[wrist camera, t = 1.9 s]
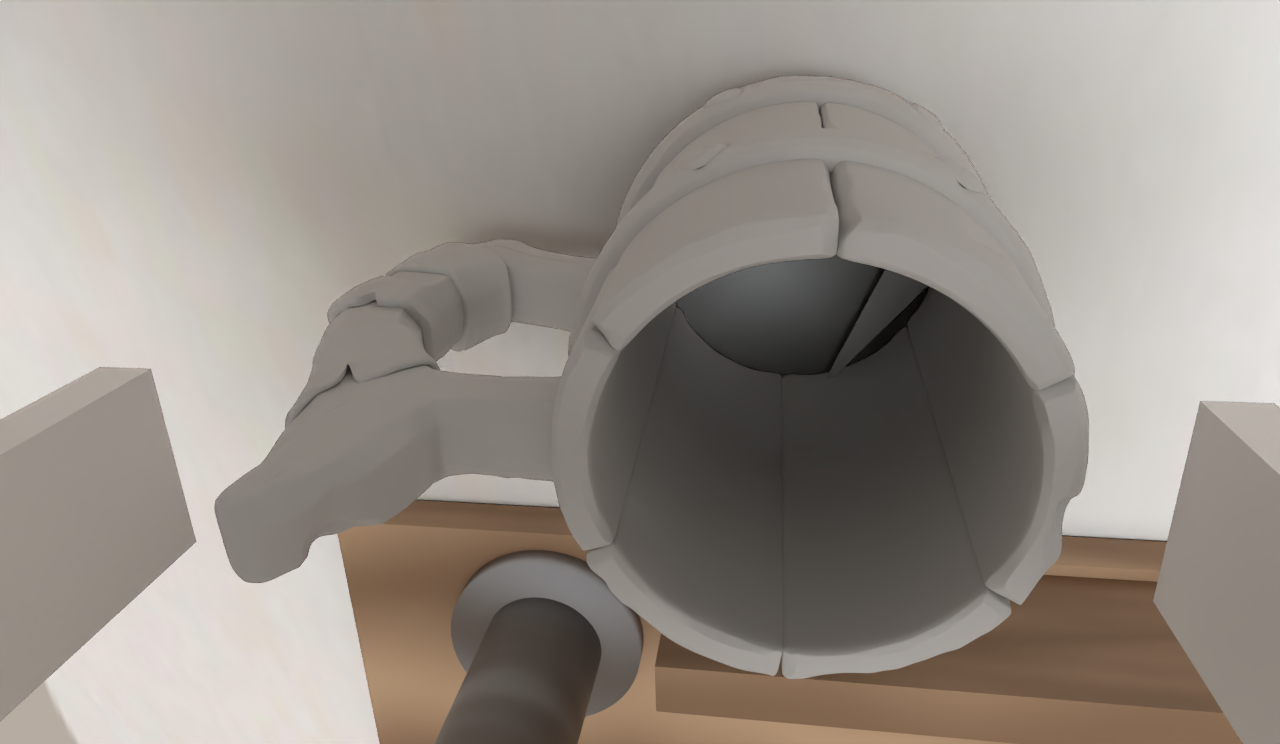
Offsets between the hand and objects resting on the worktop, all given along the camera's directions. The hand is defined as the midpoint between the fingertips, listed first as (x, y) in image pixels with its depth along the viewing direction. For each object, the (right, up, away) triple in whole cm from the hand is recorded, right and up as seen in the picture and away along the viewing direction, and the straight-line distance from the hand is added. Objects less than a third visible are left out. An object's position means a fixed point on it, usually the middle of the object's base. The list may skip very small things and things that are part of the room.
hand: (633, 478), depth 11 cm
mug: (+2, +4, +9) cm, 10 cm away
